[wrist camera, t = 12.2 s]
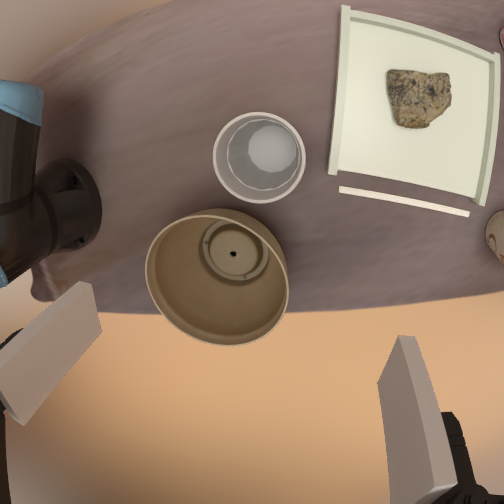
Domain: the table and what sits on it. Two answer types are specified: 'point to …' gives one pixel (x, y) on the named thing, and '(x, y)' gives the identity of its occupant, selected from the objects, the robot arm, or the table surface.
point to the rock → (418, 96)
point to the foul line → (403, 200)
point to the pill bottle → (502, 37)
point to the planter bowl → (218, 277)
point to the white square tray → (381, 110)
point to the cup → (259, 157)
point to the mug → (496, 234)
